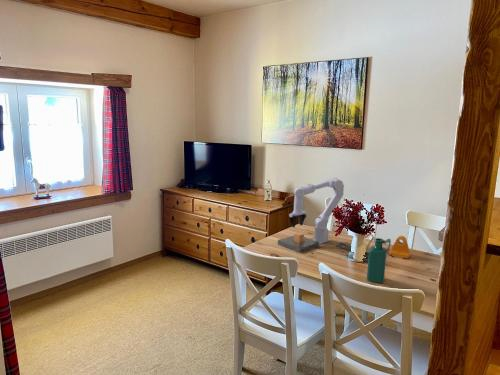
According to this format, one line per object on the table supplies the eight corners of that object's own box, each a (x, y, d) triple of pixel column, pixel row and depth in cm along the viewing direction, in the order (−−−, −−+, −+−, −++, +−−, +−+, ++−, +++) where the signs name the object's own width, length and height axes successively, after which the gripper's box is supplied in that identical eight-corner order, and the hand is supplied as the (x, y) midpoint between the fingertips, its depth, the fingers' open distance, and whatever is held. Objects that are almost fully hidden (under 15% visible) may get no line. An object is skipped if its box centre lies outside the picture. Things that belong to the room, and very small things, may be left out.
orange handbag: (388, 255, 232) (390, 237, 230) (391, 252, 238) (393, 234, 236) (407, 259, 227) (409, 240, 225) (409, 256, 233) (411, 237, 231)
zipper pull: (340, 241, 236) (381, 250, 222) (339, 251, 237) (380, 261, 223) (334, 245, 228) (376, 254, 215) (333, 255, 230) (375, 265, 216)
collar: (297, 239, 259) (297, 234, 258) (318, 246, 245) (319, 242, 244) (277, 244, 246) (277, 240, 246) (299, 252, 233) (299, 248, 232)
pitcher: (366, 281, 195) (369, 240, 191) (367, 274, 203) (371, 235, 199) (386, 284, 192) (390, 242, 187) (386, 278, 199) (390, 238, 195)
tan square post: (297, 244, 249) (298, 232, 247) (303, 245, 245) (303, 234, 244) (293, 245, 246) (294, 233, 244) (298, 247, 242) (299, 235, 241)
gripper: (300, 203, 258) (299, 222, 260) (286, 206, 248) (285, 226, 251) (309, 205, 253) (307, 225, 255) (294, 208, 243) (293, 228, 246)
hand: (297, 225), depth 253 cm, fingers open, 7 cm apart
